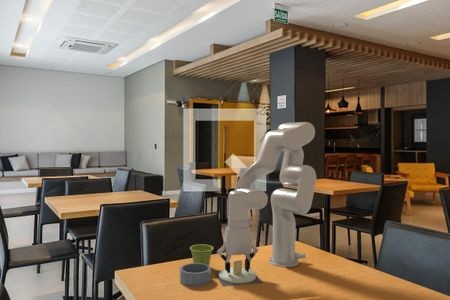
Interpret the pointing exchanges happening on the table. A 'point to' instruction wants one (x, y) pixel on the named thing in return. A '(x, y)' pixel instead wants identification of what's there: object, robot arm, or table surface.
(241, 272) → the lid
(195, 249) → the plant pot
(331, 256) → the table surface
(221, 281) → the mat
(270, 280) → the table surface
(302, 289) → the table surface
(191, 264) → the bowl
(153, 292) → the table surface
